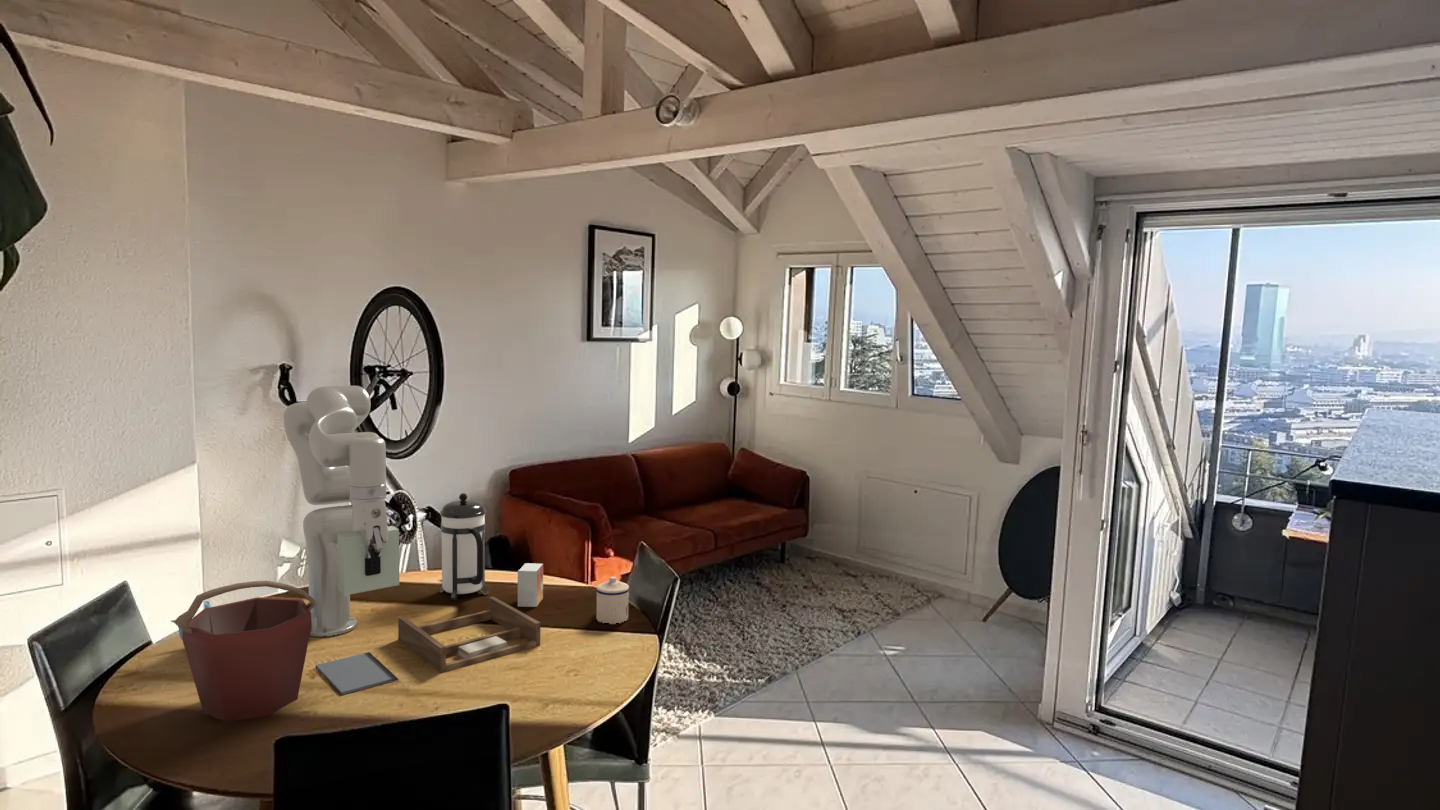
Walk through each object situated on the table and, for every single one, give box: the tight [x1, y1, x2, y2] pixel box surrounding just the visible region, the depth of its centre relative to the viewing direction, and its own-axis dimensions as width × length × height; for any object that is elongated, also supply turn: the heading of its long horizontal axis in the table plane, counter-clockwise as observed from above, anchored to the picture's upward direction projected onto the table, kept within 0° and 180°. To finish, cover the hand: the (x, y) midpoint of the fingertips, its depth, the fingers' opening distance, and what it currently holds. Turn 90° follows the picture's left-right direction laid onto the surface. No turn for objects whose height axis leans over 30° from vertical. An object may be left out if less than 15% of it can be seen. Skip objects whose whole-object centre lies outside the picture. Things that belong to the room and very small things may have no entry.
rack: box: [397, 596, 541, 673], centre depth 197 cm, size 25×25×7 cm
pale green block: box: [337, 525, 400, 596], centre depth 181 cm, size 12×4×13 cm, turn 133°
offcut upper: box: [458, 636, 508, 659], centre depth 191 cm, size 10×5×2 cm, turn 137°
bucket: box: [173, 580, 316, 723], centre depth 166 cm, size 24×22×25 cm
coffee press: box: [437, 493, 490, 602], centre depth 235 cm, size 17×16×30 cm
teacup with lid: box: [595, 576, 631, 625], centre depth 220 cm, size 12×9×12 cm
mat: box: [315, 651, 400, 696], centre depth 183 cm, size 18×18×1 cm
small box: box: [517, 562, 544, 608], centre depth 230 cm, size 8×6×10 cm
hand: (369, 571), depth 181 cm, fingers closed on pale green block, 4 cm apart
